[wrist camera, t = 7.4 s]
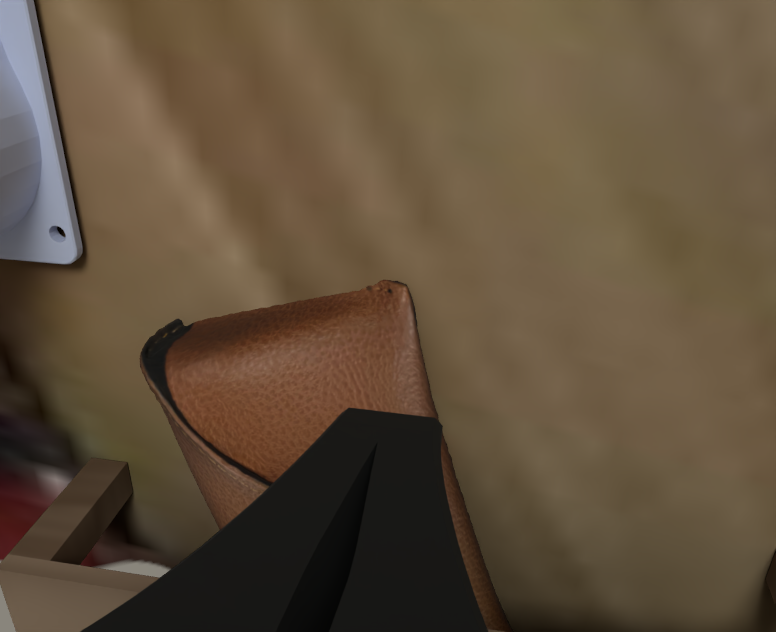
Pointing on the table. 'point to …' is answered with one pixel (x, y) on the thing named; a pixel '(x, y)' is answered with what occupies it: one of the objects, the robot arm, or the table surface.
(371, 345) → the sunglasses case
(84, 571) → the miniature wooden table
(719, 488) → the table surface
